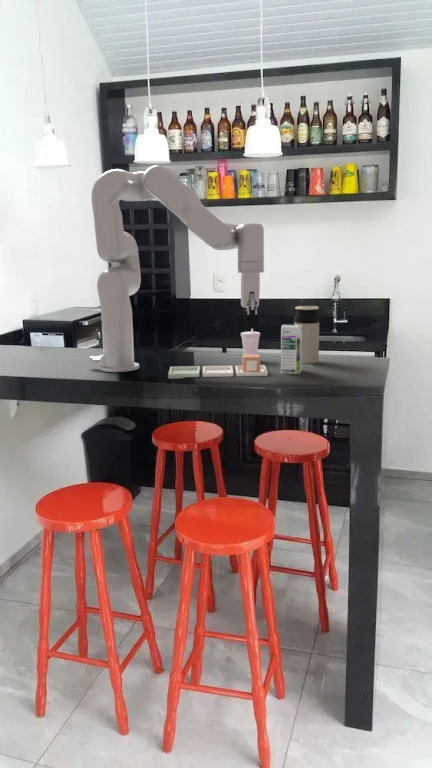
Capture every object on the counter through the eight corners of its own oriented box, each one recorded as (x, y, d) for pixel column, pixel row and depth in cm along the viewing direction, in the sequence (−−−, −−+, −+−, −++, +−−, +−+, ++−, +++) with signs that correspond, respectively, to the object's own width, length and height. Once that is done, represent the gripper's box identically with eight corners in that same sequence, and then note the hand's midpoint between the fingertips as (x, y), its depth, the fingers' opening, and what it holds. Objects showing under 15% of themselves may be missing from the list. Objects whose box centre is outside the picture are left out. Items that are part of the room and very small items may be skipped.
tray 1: (168, 378, 189) (168, 373, 189) (170, 371, 200) (170, 366, 199) (199, 378, 189) (199, 373, 189) (199, 370, 200) (199, 366, 200)
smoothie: (258, 364, 209) (258, 320, 206) (239, 363, 211) (239, 320, 208) (261, 360, 216) (261, 318, 213) (242, 360, 217) (242, 318, 214)
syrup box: (280, 374, 193) (280, 326, 189) (282, 371, 198) (283, 323, 195) (299, 375, 191) (300, 326, 188) (301, 371, 197) (302, 324, 194)
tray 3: (236, 377, 189) (236, 372, 189) (235, 370, 200) (235, 365, 200) (267, 377, 189) (267, 372, 189) (264, 369, 200) (264, 365, 200)
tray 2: (202, 378, 189) (202, 373, 189) (203, 370, 200) (202, 366, 200) (233, 377, 189) (233, 372, 189) (232, 370, 200) (232, 365, 200)
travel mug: (314, 359, 216) (315, 305, 212) (321, 364, 208) (322, 307, 204) (290, 360, 215) (291, 306, 211) (297, 365, 207) (298, 308, 203)
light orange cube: (243, 374, 192) (243, 357, 191) (242, 370, 197) (242, 354, 196) (260, 373, 192) (260, 357, 191) (258, 370, 197) (258, 354, 196)
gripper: (236, 266, 196) (237, 322, 200) (239, 268, 179) (239, 330, 183) (261, 266, 196) (261, 322, 200) (266, 268, 179) (266, 330, 183)
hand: (251, 326), depth 191 cm, fingers open, 9 cm apart
